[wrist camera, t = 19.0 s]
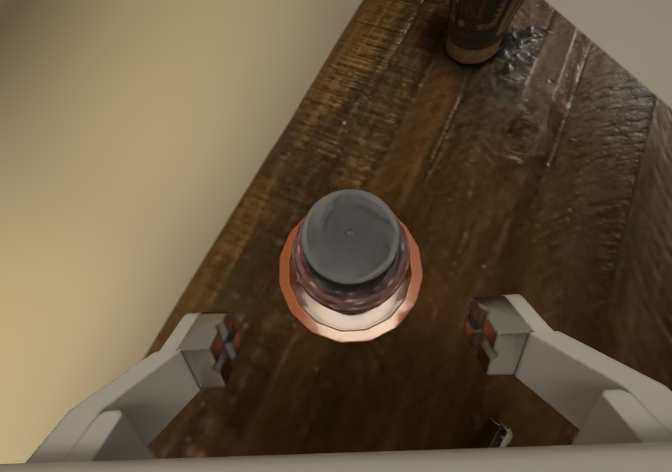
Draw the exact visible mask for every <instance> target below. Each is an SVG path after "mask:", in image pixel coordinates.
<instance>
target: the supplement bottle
mask: <svg viewBox="0 0 672 472" xmlns="http://www.w3.org/2000/svg"><path fill="white" fill-rule="evenodd" d="M292 261H293V267H294V271H295V274H296V277H297V279H298V281H299V283H300V284H301V286H302V287H303V289H304V290H305V291H306V292H307V293H308V295H309V296H310V297H311V298H313V299H314V300H315V301H316V302H318V303H319V304H321V305H322V306H324V307H326V308H328V309H330V310H333V311H335V312H338V313H341V314H348V315H354V314H361V313H364V312H367V311H369V310H372V309H374V308H378V307H379V306H380V305H381V304H382V303H384V302H385V301H387V300H388V299H389V298H390V297H391V296H393V294H394V293H395V292H396V291H397V290H398V288H399V287H400V286H401V284H402V282H403V280H404V278H405V276H406V273H407V270H408V267H409V262H410V247H409V241H408V237H407V234H406V232H405V229H404V227H403V225H402V223H401V222H400V221H399V219H398V218H397V217H396V216H395V215H394V213H393V212H392V211H391V209H390V208H389V206H388V205H387V204H385V203H384V202H383V201H382V200H381V199H380V198H378V197H377V196H375V195H373V194H371V193H368V192H366V191H362V190H357V189H352V190H351V189H346V190H339V191H335V192H333V193H330V194H328V195H326V196H324V197H323V198H321V199H320V200H319V201H317V202H316V203H315V204H314V205H313V206H312V208H311V209H310V210H309V212H308V213H307V215H306V217H305V218H304V219H303V220H302V222H301V224H300V225H299V227H298V229H297V231H296V233H295V236H294V240H293V245H292Z"/></svg>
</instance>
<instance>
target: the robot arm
mask: <svg viewBox="0 0 672 472" xmlns="http://www.w3.org/2000/svg"><path fill="white" fill-rule="evenodd" d="M468 308H469V310H470V313H469V314H468V315H467V316H466V318H465V331H466V335H467V338H468V340H469V342H470V344H471V345H472V346H473V347H474V348H476V349H477V350H478V354H477V358H478V360H479V362H480V363H481V365H482V367H483V369H484V371H485V373H486V375H515V376H516V377H517V378H518V379H519V380H520V381H522V382H523V383H524V384H525V385H526V386H528V387H529V388H530V389H531V390H532V391H534V392H535V393H536V394H537V395H538V396H540V397H541V398H542V399H543V400H544V401H546V402H547V403H548V404H549V405H550V406H552V407H553V408H554V409H555V410H556V411H558V412H559V413H560V414H561V415H563V416H564V417H565V418H566V419H567V420H569V421H570V422H571V423H572V424H573V425H575V426H576V427H577V428H578V429H579V432H578V434H577V435H576V437H575V439H574V440H573V442H572V445H559V446H530V447H500V448H470V449H439V450H409V451H378V452H349V453H320V454H291V455H262V456H232V457H202V458H173V459H157V457H156V455H155V454H154V453H153V452H152V450H151V449H150V448H149V446H148V445H149V444H150V443H151V442H152V441H153V440H154V439H155V438H156V437H157V435H158V434H159V433H160V432H161V431H162V430H163V429H164V428H165V427H166V426H167V425H168V424H169V423H170V422H171V421H172V420H173V419H174V417H175V416H176V415H177V414H178V413H179V412H180V411H181V410H182V409H183V408H184V407H185V406H186V405H187V404H188V403H189V402H190V401H191V399H192V398H193V397H194V396H195V395H196V394H197V393H198V392H199V391H200V389H204V388H217V387H226V385H227V382H228V379H229V377H230V374H231V372H232V369H233V368H232V365H231V362H232V361H233V360H234V359H235V358H236V357H237V356H238V353H239V350H240V344H241V337H240V332H239V329H238V328H236V327H235V326H234V325H233V324H234V321H235V318H234V315H233V313H232V312H202V313H188V314H186V315H184V317H183V318H182V319H181V321H180V322H179V324H178V325H177V327H176V328H175V330H174V331H173V332H172V334H171V335H170V337H169V338H168V340H167V341H166V343H165V344H164V346H163V347H162V348H161V350H160V351H159V352H154V353H153V354H151V355H150V356H148V357H147V358H145V359H144V360H142V361H141V362H140V363H138V364H137V365H135V366H134V367H132V368H131V369H130V370H128V371H126V372H125V373H123V374H122V375H121V376H119V377H118V378H116V379H115V380H113V381H112V382H110V383H109V384H108V385H106V386H105V387H103V388H102V389H100V390H99V391H97V392H96V393H94V394H93V395H91V396H90V397H88V398H87V399H86V400H84V401H83V402H81V403H80V404H78V405H77V406H75V407H74V408H72V409H71V410H70V411H69V412H68V413H67V414H66V415H65V416H64V418H63V419H62V420H61V421H60V422H59V424H58V425H57V426H56V427H55V428H54V429H53V431H52V432H51V433H50V434H49V435H48V437H47V438H46V439H45V440H44V442H43V443H42V444H41V445H40V446H39V447H38V449H37V450H36V451H35V452H34V453H33V454H32V456H31V457H30V458H29V459H28V460H27V462H26V463H23V464H22V463H21V464H0V472H672V391H671V390H670V389H668V388H667V387H666V386H665V385H663V384H661V383H659V382H657V381H655V380H653V379H651V378H649V377H647V376H645V375H643V374H641V373H639V372H637V371H635V370H633V369H632V368H630V367H628V366H626V365H624V364H622V363H620V362H618V361H616V360H614V359H612V358H610V357H608V356H606V355H604V354H602V353H600V352H598V351H597V350H595V349H593V348H591V347H589V346H587V345H585V344H583V343H581V342H579V341H577V340H575V339H573V338H571V337H569V336H567V335H565V334H563V333H561V332H560V331H553V330H552V329H551V328H550V327H549V326H548V325H547V323H546V322H545V321H544V320H543V319H542V318H541V317H540V316H539V315H538V313H537V312H536V311H535V310H534V309H533V308H532V307H531V306H530V305H529V303H528V302H527V301H526V300H525V299H524V298H523V297H522V296H521V295H519V294H511V295H502V296H485V297H471V298H470V299H469V302H468Z"/></svg>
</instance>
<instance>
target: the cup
mask: <svg viewBox="0 0 672 472" xmlns="http://www.w3.org/2000/svg"><path fill="white" fill-rule="evenodd" d="M523 1H524V0H450V15H449V16H450V17H449V20H450V23H449V35H448V39H447V44H446V51H447V54H448V55H449V56H450V57H451V58H452V59H453V60H455V61H457V62H459V63H462V64H477V63H481V62H484V61H486V60H488V59H489V58H491V57H492V56H493V55H494V54H495V53H496V52H497V50H498V48H499V45H500V42H501V40H502V38H503V36H504V33H505V32H506V30H507V28H508V26H509V24H510V22H511V20H512V19H513V17H514V15H515V14H516V12H517V10H518V9H519V7H520V6H521V4H522V2H523Z"/></svg>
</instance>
